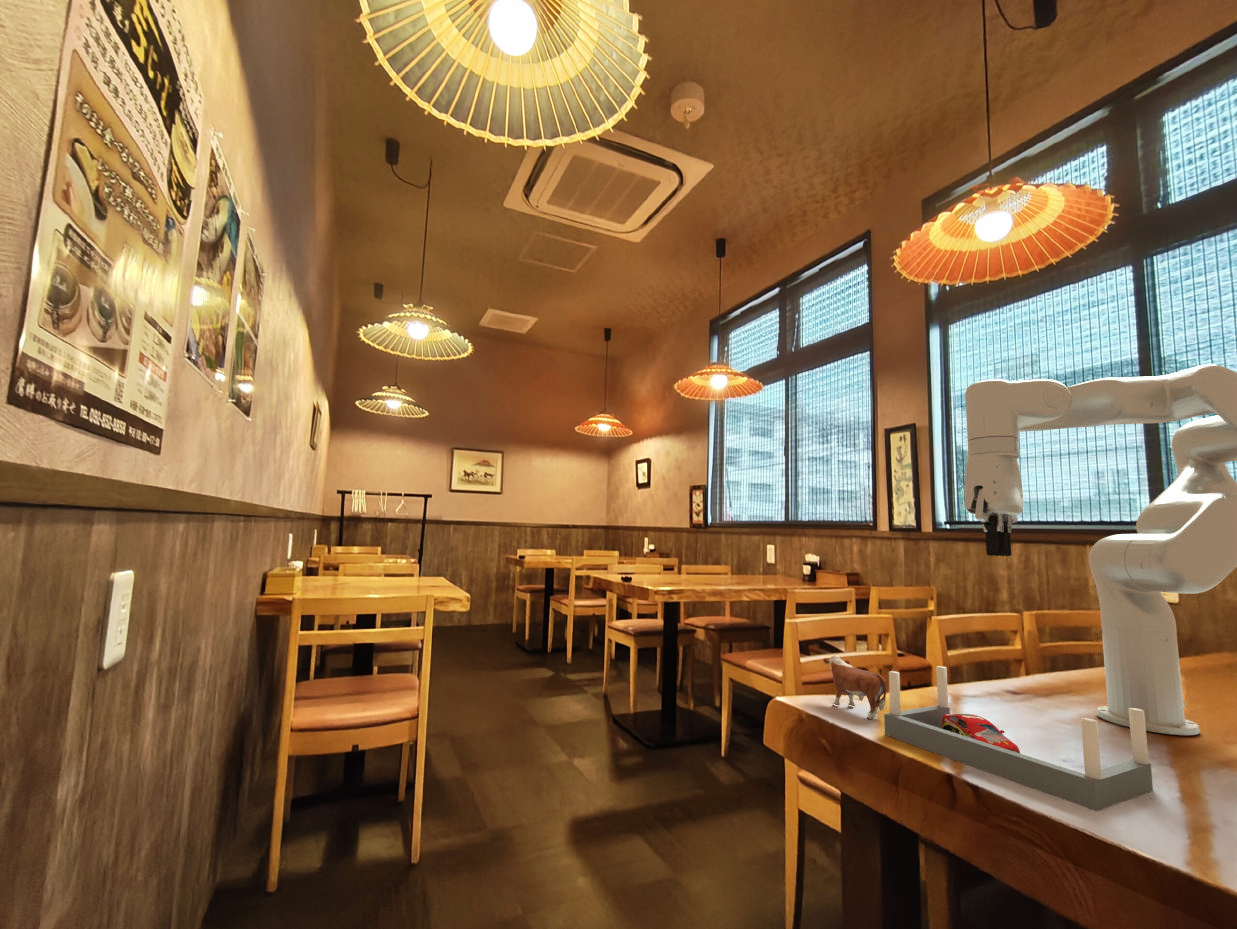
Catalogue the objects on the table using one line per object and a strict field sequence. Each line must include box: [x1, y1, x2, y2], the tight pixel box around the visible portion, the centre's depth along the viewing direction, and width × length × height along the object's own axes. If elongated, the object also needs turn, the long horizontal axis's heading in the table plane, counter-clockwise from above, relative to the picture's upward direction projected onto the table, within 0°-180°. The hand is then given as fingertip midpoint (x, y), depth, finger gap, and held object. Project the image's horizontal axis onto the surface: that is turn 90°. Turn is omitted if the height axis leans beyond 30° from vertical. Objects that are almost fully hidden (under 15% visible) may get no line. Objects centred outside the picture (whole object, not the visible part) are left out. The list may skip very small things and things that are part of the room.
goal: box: [883, 665, 1154, 812], centre depth 76 cm, size 14×26×9 cm, turn 28°
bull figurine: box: [823, 654, 887, 720], centre depth 97 cm, size 4×13×8 cm, turn 18°
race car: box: [942, 713, 1021, 754], centre depth 80 cm, size 13×5×4 cm, turn 175°
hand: (998, 555), depth 97 cm, fingers closed
